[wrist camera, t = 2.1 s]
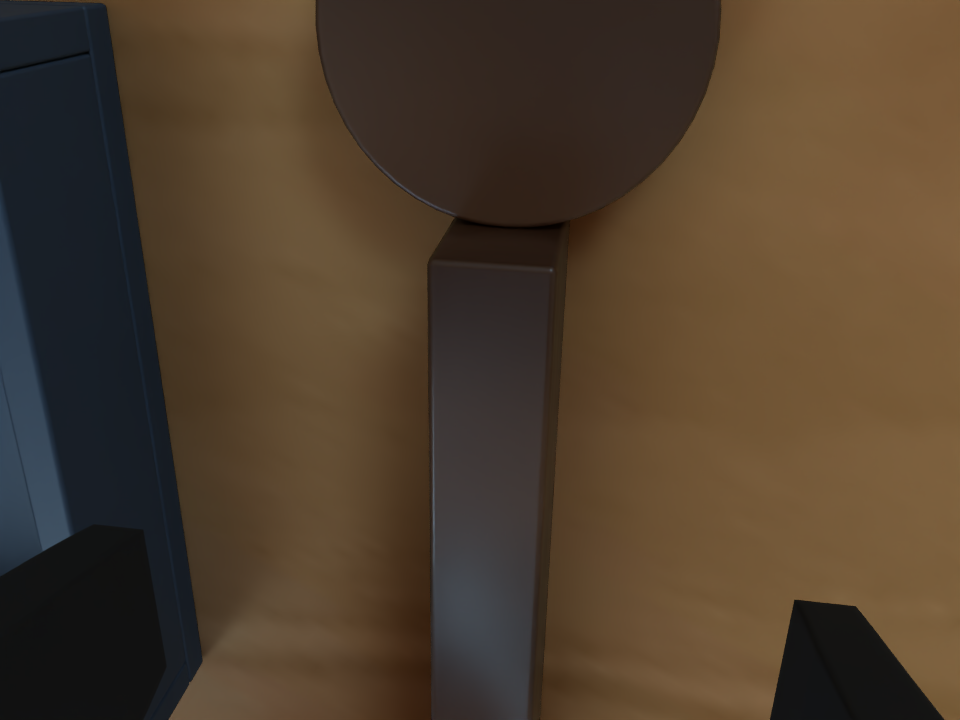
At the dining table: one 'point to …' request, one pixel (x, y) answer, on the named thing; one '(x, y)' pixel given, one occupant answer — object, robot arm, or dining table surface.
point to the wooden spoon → (506, 264)
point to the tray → (80, 320)
